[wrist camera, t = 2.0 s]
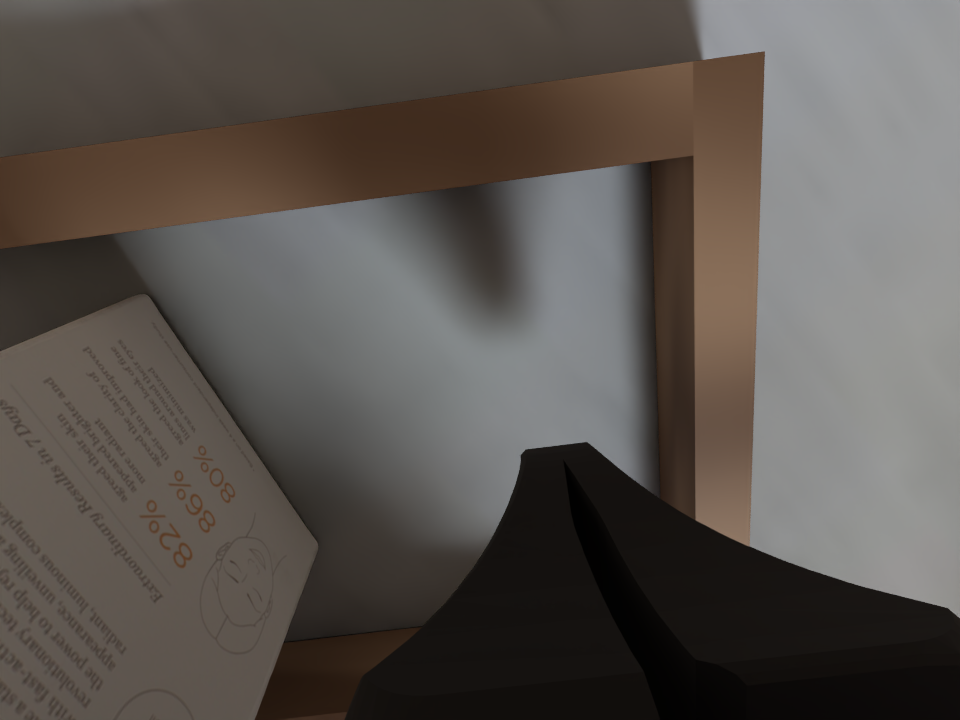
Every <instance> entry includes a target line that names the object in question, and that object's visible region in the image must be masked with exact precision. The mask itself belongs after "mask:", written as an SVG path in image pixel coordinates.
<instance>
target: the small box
mask: <svg viewBox="0 0 960 720" xmlns="http://www.w3.org/2000/svg"><path fill="white" fill-rule="evenodd" d="M318 548H319V546H318V543H317V541H316V540H315V538H314V537H313V536H312V534H311V533H310V531H309V530H308V529H307V527H306V526H305V524H304V523H303V521H302V520H301V518H300V517H299V516H298V514H297V513H296V511H295V510H294V508H293V507H292V505H291V504H290V503H289V501H288V500H287V498H286V497H285V495H284V494H283V492H282V491H281V489H280V488H279V486H278V485H277V483H276V482H275V480H274V479H273V478H272V476H271V475H270V473H269V472H268V470H267V469H266V467H265V466H264V464H263V463H262V461H261V460H260V458H259V457H258V456H257V454H256V453H255V451H254V450H253V448H252V447H251V445H250V444H249V442H248V441H247V440H246V438H245V437H244V435H243V434H242V432H241V431H240V429H239V428H238V426H237V425H236V423H235V422H234V420H233V419H232V417H231V416H230V414H229V413H228V411H227V410H226V408H225V407H224V406H223V404H222V403H221V401H220V400H219V398H218V397H217V395H216V394H215V392H214V391H213V390H212V388H211V387H210V385H209V384H208V382H207V381H206V379H205V378H204V377H203V375H202V374H201V372H200V371H199V369H198V368H197V366H196V365H195V363H194V362H193V361H192V359H191V358H190V356H189V355H188V353H187V352H186V351H185V349H184V348H183V346H182V345H181V343H180V342H179V340H178V339H177V337H176V336H175V334H174V333H173V331H172V330H171V328H170V327H169V325H168V324H167V323H166V321H165V320H164V318H163V317H162V315H161V314H160V312H159V311H158V309H157V308H156V306H155V305H154V303H153V302H152V300H151V299H150V298H149V297H148V296H147V295H144V294H139V295H135V296H133V297H130V298H127V299H125V300H122V301H120V302H118V303H115V304H113V305H110V306H108V307H106V308H103V309H101V310H99V311H96V312H94V313H91V314H89V315H87V316H84V317H82V318H80V319H77V320H75V321H72V322H70V323H68V324H65V325H63V326H60V327H58V328H55V329H53V330H51V331H48V332H46V333H43V334H41V335H39V336H36V337H34V338H31V339H29V340H27V341H24V342H22V343H19V344H17V345H14V346H12V347H10V348H7V349H5V350H2V351H0V720H255V717H256V715H257V712H258V709H259V707H260V704H261V701H262V699H263V696H264V693H265V691H266V688H267V685H268V682H269V679H270V677H271V674H272V672H273V669H274V667H275V664H276V661H277V658H278V655H279V653H280V650H281V647H282V645H283V642H284V640H285V637H286V634H287V631H288V629H289V626H290V623H291V620H292V618H293V615H294V613H295V610H296V607H297V605H298V602H299V599H300V596H301V594H302V591H303V589H304V586H305V583H306V581H307V578H308V575H309V572H310V570H311V567H312V565H313V562H314V559H315V557H316V554H317V552H318Z"/></svg>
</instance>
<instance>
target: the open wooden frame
mask: <svg viewBox="0 0 960 720" xmlns="http://www.w3.org/2000/svg"><path fill="white" fill-rule="evenodd" d="M764 60H765V52H758V53H750V54H743V55H736V56H729V57H721V58H714V59H707V60H700V61H693V62H685V63H678V64H671V65H664V66H657V67H649V68H642V69H635V70H628V71H621V72H613V73H606V74H599V75H592V76H584V77H577V78H570V79H563V80H556V81H548V82H541V83H534V84H527V85H520V86H512V87H505V88H498V89H491V90H483V91H476V92H469V93H462V94H455V95H447V96H440V97H433V98H426V99H419V100H411V101H404V102H397V103H390V104H383V105H375V106H368V107H361V108H354V109H346V110H339V111H332V112H325V113H318V114H310V115H303V116H296V117H289V118H282V119H274V120H267V121H260V122H253V123H245V124H238V125H231V126H224V127H217V128H209V129H202V130H195V131H188V132H181V133H173V134H166V135H159V136H152V137H145V138H137V139H130V140H123V141H116V142H108V143H101V144H94V145H87V146H80V147H72V148H65V149H58V150H51V151H44V152H36V153H29V154H22V155H15V156H7V157H0V249H3V248H10V247H18V246H25V245H33V244H40V243H48V242H55V241H62V240H70V239H77V238H85V237H92V236H100V235H107V234H114V233H122V232H129V231H137V230H144V229H152V228H159V227H166V226H174V225H181V224H189V223H196V222H204V221H211V220H218V219H226V218H233V217H241V216H248V215H256V214H263V213H270V212H278V211H285V210H293V209H300V208H308V207H315V206H322V205H330V204H337V203H345V202H352V201H360V200H367V199H374V198H382V197H389V196H397V195H404V194H412V193H419V192H426V191H434V190H441V189H449V188H456V187H464V186H471V185H478V184H486V183H493V182H501V181H508V180H516V179H523V178H530V177H538V176H545V175H553V174H560V173H568V172H575V171H582V170H590V169H597V168H605V167H612V166H620V165H627V164H634V163H642V162H649V161H651V184H652V219H653V254H654V289H655V324H656V359H657V394H658V428H659V463H660V498H661V500H663V501H665V502H666V503H668V504H669V505H671V506H672V507H674V508H676V509H677V510H679V511H680V512H682V513H684V514H685V515H687V516H689V517H691V518H692V519H694V520H696V521H698V522H700V523H702V524H704V525H706V526H708V527H710V528H711V529H713V530H715V531H717V532H719V533H721V534H723V535H725V536H727V537H729V538H731V539H734V540H736V541H738V542H740V543H742V544H744V545H747V546H749V544H750V512H751V480H752V447H753V415H754V383H755V350H756V318H757V286H758V254H759V221H760V189H761V157H762V124H763V92H764ZM421 628H422V627H417V628H408V629H400V630H391V631H382V632H374V633H365V634H356V635H348V636H339V637H330V638H322V639H313V640H304V641H296V642H287V643H283V645H282V647H281V650H280V653H279V655H278V658H277V661H276V664H275V667H274V669H273V672H272V674H271V677H270V679H269V682H268V685H267V688H266V691H265V693H264V696H263V699H262V701H261V704H260V707H259V709H258V712H257V715H256V717H255V720H345V717H346V714H347V711H348V709H349V706H350V704H351V701H352V699H353V696H354V694H355V691H356V689H357V687H358V684H359V682H360V680H361V678H362V676H363V675H364V674H366V673H367V672H368V671H370V670H371V669H372V668H374V667H375V666H376V665H377V664H379V663H380V662H381V661H382V660H384V659H385V658H386V657H387V656H389V655H390V654H391V653H392V652H394V651H395V650H396V649H397V648H398V647H400V646H401V645H402V644H403V643H405V642H406V641H407V640H408V639H410V638H411V637H412V636H413V635H414V634H415V633H416V632H417V631H418V630H420V629H421Z"/></svg>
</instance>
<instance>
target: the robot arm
mask: <svg viewBox="0 0 960 720" xmlns="http://www.w3.org/2000/svg"><path fill="white" fill-rule="evenodd" d="M345 720H960V618H959V617H957V616H956V615H955V614H954V613H953V612H951V611H950V610H949V609H948V608H945V607H941V606H937V605H933V604H929V603H925V602H921V601H917V600H913V599H909V598H905V597H901V596H897V595H893V594H889V593H885V592H881V591H877V590H873V589H869V588H865V587H862V586H858V585H855V584H851V583H848V582H845V581H842V580H839V579H836V578H833V577H830V576H826V575H823V574H820V573H817V572H814V571H811V570H808V569H805V568H802V567H800V566H797V565H794V564H791V563H789V562H786V561H783V560H781V559H778V558H776V557H773V556H771V555H768V554H766V553H764V552H761V551H759V550H756V549H754V548H752V547H749V546H747V545H744V544H742V543H740V542H738V541H736V540H734V539H731V538H729V537H727V536H725V535H723V534H721V533H719V532H717V531H715V530H713V529H711V528H710V527H708V526H706V525H704V524H702V523H700V522H698V521H696V520H694V519H692V518H691V517H689V516H687V515H685V514H684V513H682V512H680V511H679V510H677V509H676V508H674V507H672V506H671V505H669V504H668V503H666V502H665V501H663V500H661V499H660V498H658V497H657V496H655V495H654V494H652V493H651V492H650V491H648V490H647V489H645V488H644V487H642V486H641V485H640V484H638V483H637V482H636V481H634V480H633V479H632V478H630V477H629V476H628V475H626V474H625V473H624V472H623V471H621V470H620V469H619V468H618V467H617V466H615V465H614V464H613V463H612V462H610V461H609V460H608V459H607V458H606V457H604V456H603V455H602V454H601V453H600V452H599V451H597V450H596V449H595V448H594V447H592V446H591V445H590V444H589V443H587V442H584V443H576V444H568V445H559V446H551V447H543V448H535V449H527V450H525V451H524V452H523V453H522V454H521V464H520V470H519V474H518V478H517V481H516V485H515V487H514V490H513V493H512V495H511V498H510V501H509V504H508V506H507V508H506V511H505V513H504V515H503V517H502V519H501V521H500V523H499V525H498V527H497V529H496V531H495V533H494V535H493V537H492V539H491V540H490V542H489V544H488V546H487V547H486V549H485V551H484V552H483V554H482V555H481V557H480V558H479V560H478V561H477V563H476V564H475V566H474V567H473V569H472V570H471V571H470V573H469V574H468V575H467V577H466V578H465V579H464V581H463V582H462V583H461V585H460V586H459V587H458V589H457V590H456V591H455V592H454V593H453V595H452V596H451V597H450V598H449V599H448V600H447V602H446V603H445V604H444V605H443V606H442V607H441V608H440V609H439V610H438V611H437V612H436V613H435V614H434V615H433V616H432V617H431V618H430V619H429V620H428V621H427V623H426V624H425V625H424V626H423V627H422V628H421V629H420V630H418V631H417V632H416V633H415V634H414V635H413V636H412V637H411V638H410V639H408V640H407V641H406V642H405V643H403V644H402V645H401V646H400V647H398V648H397V649H396V650H395V651H394V652H392V653H391V654H390V655H389V656H387V657H386V658H385V659H384V660H382V661H381V662H380V663H379V664H377V665H376V666H375V667H374V668H372V669H371V670H370V671H368V672H367V673H366V674H364V675H363V676H362V678H361V680H360V682H359V684H358V687H357V689H356V691H355V694H354V696H353V699H352V701H351V704H350V706H349V709H348V711H347V714H346V717H345Z"/></svg>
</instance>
